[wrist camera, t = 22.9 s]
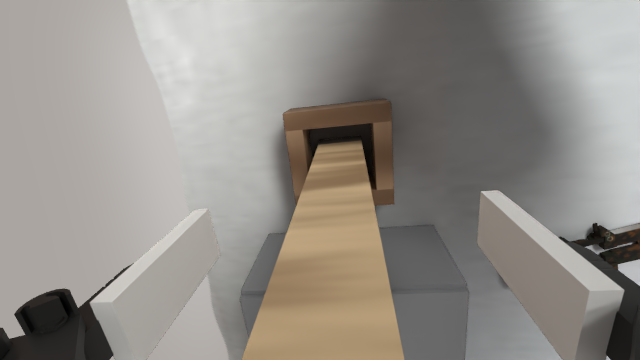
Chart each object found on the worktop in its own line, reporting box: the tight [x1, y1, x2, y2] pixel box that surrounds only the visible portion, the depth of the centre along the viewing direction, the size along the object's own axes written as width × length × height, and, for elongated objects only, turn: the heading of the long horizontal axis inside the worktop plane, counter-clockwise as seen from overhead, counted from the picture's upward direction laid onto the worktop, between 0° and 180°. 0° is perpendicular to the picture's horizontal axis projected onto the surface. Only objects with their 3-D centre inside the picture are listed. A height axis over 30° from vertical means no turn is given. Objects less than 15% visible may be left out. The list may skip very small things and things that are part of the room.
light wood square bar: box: [242, 136, 404, 360], centre depth 19 cm, size 4×4×24 cm
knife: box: [558, 223, 640, 270], centre depth 30 cm, size 25×6×1 cm, turn 106°
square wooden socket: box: [283, 99, 394, 206], centre depth 28 cm, size 9×9×4 cm
